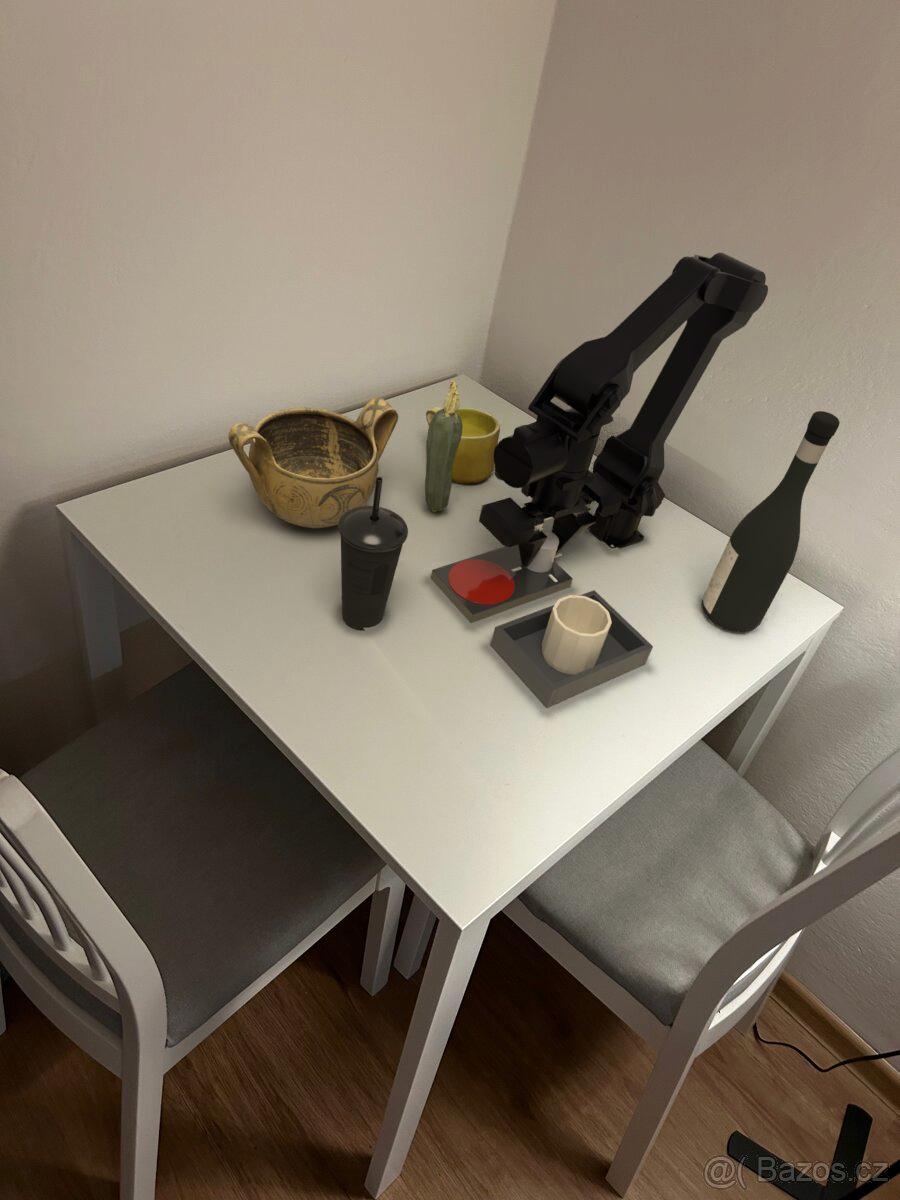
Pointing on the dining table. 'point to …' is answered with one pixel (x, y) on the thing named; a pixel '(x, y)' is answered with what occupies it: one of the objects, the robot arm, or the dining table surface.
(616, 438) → the robot arm
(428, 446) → the vegetable
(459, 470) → the mug
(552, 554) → the knob
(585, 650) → the pot
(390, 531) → the drinking cup
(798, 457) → the wine bottle
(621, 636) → the sink
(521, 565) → the hob
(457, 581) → the burner
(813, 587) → the dining table surface
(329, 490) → the ceramic bowl
